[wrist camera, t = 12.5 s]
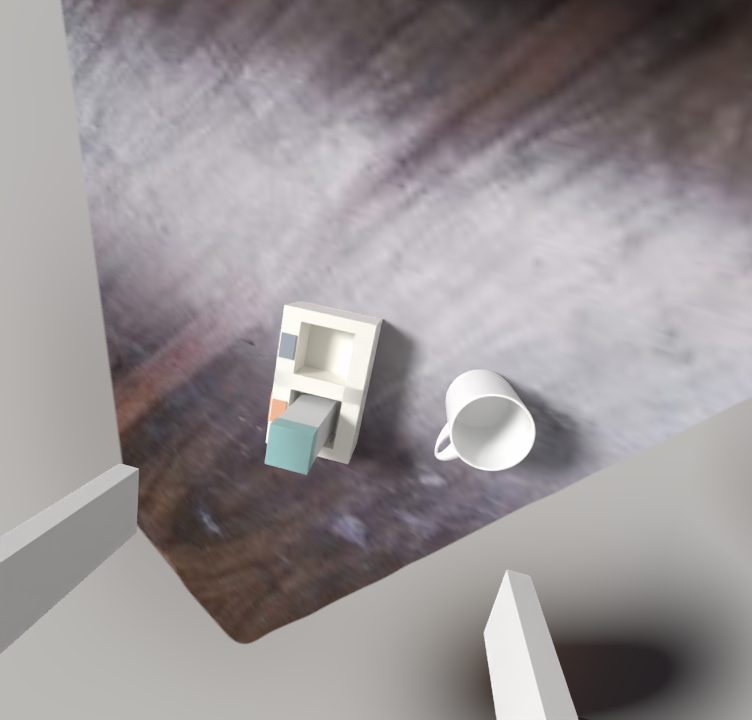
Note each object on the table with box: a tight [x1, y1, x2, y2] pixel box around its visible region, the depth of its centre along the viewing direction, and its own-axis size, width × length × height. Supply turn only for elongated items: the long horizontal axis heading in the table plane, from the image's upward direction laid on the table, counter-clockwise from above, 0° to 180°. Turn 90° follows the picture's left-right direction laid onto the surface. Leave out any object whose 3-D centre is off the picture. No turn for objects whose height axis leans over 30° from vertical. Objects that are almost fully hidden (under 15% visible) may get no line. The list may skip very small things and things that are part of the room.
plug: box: [265, 392, 339, 475], centre depth 44 cm, size 5×5×12 cm
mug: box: [435, 369, 536, 471], centre depth 44 cm, size 9×12×11 cm
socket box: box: [266, 301, 383, 464], centre depth 47 cm, size 18×11×6 cm, turn 168°
